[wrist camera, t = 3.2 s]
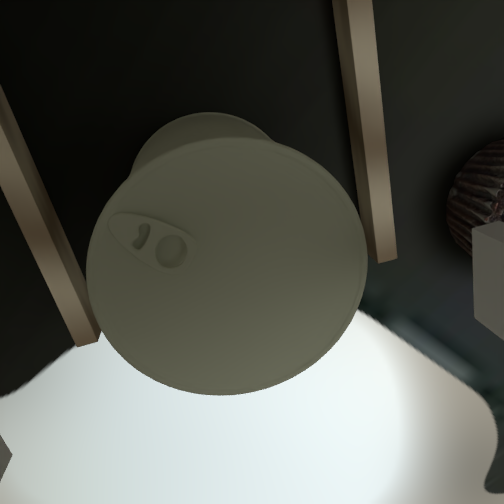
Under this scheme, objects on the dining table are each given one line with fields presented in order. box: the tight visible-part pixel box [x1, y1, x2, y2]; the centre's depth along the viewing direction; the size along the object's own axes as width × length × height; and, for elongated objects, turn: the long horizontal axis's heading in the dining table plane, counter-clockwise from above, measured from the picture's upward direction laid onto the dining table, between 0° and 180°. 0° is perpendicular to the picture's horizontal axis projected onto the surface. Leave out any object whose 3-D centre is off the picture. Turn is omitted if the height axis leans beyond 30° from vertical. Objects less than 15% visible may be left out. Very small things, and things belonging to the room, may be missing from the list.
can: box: [86, 112, 368, 395], centre depth 19 cm, size 9×9×12 cm
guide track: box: [0, 0, 397, 347], centre depth 18 cm, size 30×19×5 cm, turn 13°
